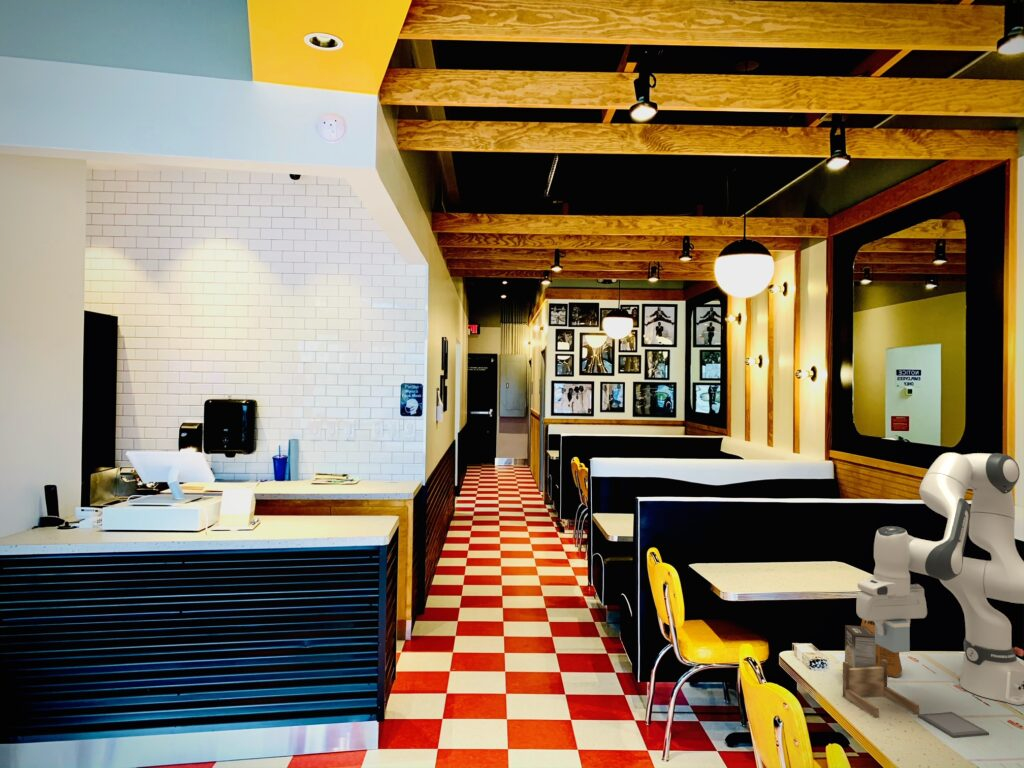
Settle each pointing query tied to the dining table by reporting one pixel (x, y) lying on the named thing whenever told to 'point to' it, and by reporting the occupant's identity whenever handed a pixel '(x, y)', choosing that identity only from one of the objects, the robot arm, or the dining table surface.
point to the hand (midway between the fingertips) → (892, 634)
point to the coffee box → (859, 647)
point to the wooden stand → (871, 688)
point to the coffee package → (885, 654)
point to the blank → (894, 635)
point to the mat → (953, 724)
